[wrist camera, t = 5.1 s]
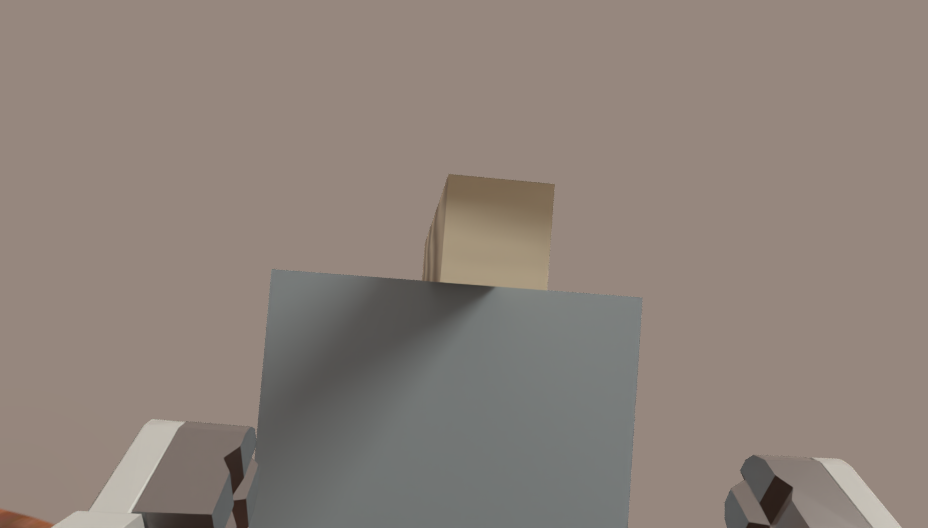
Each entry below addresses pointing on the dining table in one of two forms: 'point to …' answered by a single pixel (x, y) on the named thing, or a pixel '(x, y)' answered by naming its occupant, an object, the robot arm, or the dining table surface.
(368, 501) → the podium
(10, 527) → the dining table surface
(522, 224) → the birch rod
